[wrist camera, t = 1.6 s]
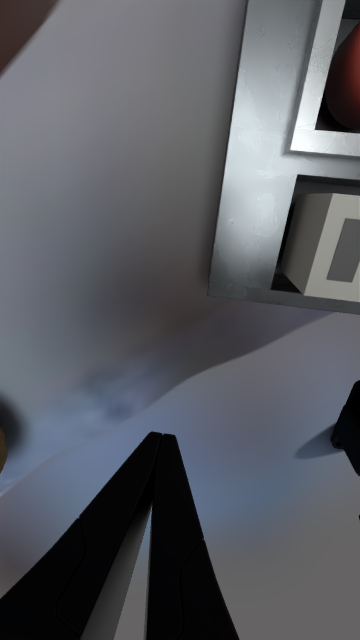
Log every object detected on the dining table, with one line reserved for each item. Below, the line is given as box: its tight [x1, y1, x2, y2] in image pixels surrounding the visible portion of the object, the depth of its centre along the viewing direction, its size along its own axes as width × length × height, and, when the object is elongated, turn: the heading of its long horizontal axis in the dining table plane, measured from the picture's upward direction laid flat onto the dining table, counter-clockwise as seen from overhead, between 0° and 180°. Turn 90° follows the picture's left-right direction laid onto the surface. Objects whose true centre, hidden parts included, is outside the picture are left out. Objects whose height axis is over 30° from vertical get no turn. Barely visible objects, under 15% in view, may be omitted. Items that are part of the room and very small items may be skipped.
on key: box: [280, 193, 360, 302], centre depth 13 cm, size 4×4×5 cm
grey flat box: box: [207, 0, 360, 315], centre depth 14 cm, size 12×14×5 cm
